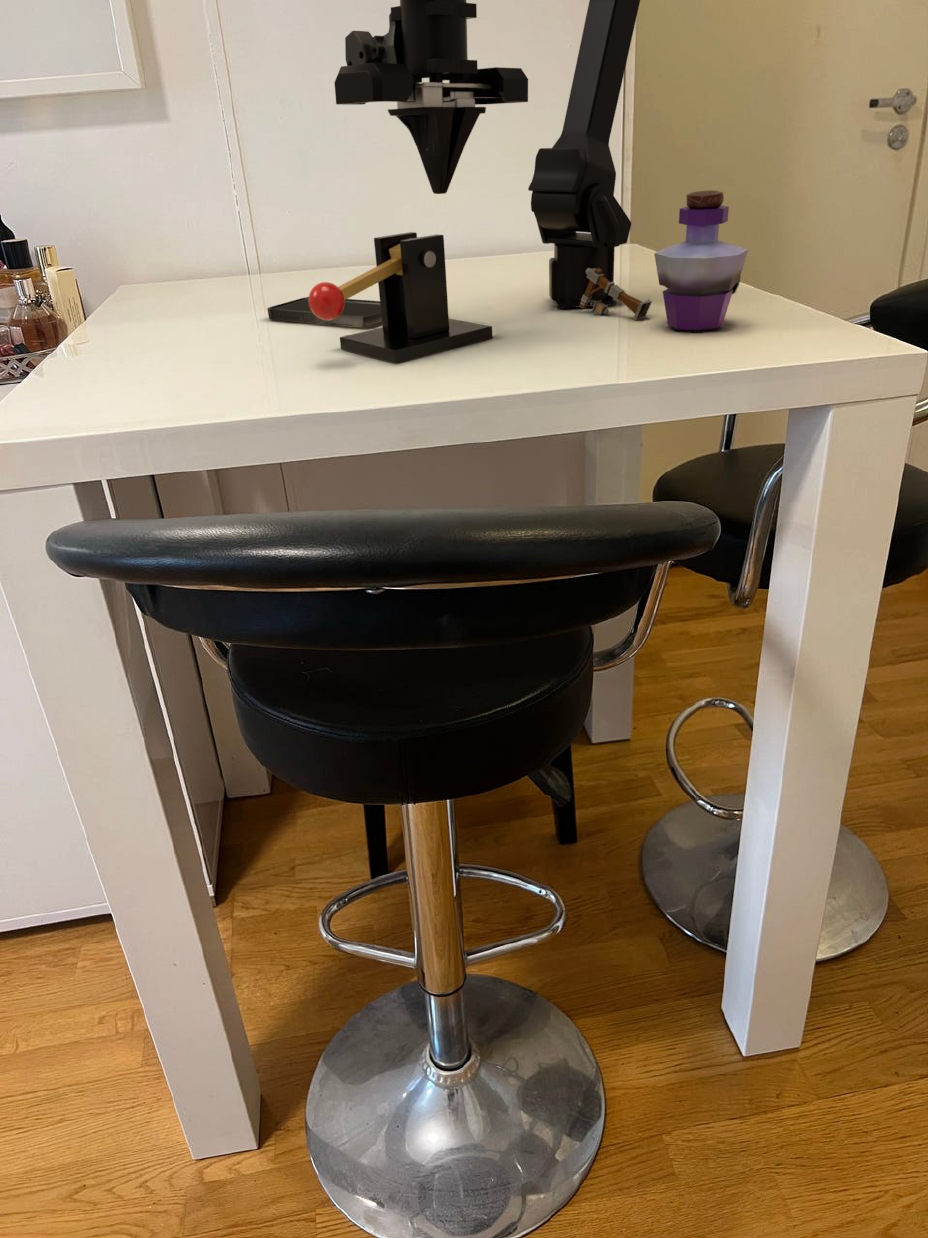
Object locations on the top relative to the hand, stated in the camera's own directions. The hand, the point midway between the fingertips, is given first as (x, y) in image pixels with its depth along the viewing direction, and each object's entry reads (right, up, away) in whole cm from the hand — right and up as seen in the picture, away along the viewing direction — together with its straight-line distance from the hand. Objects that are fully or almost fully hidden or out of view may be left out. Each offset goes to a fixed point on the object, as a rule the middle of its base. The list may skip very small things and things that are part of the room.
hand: (439, 193), depth 83 cm
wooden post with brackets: (+18, -8, +10) cm, 22 cm away
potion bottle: (+25, -11, +4) cm, 28 cm away
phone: (-12, -6, +17) cm, 22 cm away
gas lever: (-6, -10, -1) cm, 12 cm away
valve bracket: (-2, -13, +4) cm, 14 cm away
